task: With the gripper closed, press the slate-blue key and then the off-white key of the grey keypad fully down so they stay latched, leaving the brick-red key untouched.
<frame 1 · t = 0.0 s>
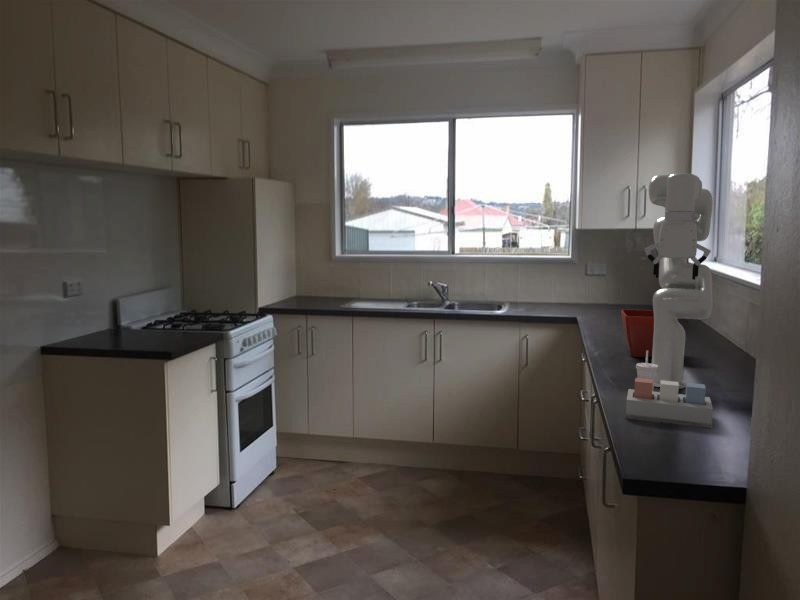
hand: (675, 278, 184), 37 cm above the worktop, tool pointing down, fingers open, 9 cm apart
blue key: (695, 393, 172), point 7 cm above the worktop, slide at 0.0 cm
smoothie: (645, 396, 196), on the worktop
red key: (643, 388, 177), point 7 cm above the worktop, slide at 0.0 cm
white key: (668, 391, 175), point 7 cm above the worktop, slide at 0.0 cm
keypad housing: (667, 416, 175), on the worktop
plant pot: (646, 355, 257), on the worktop
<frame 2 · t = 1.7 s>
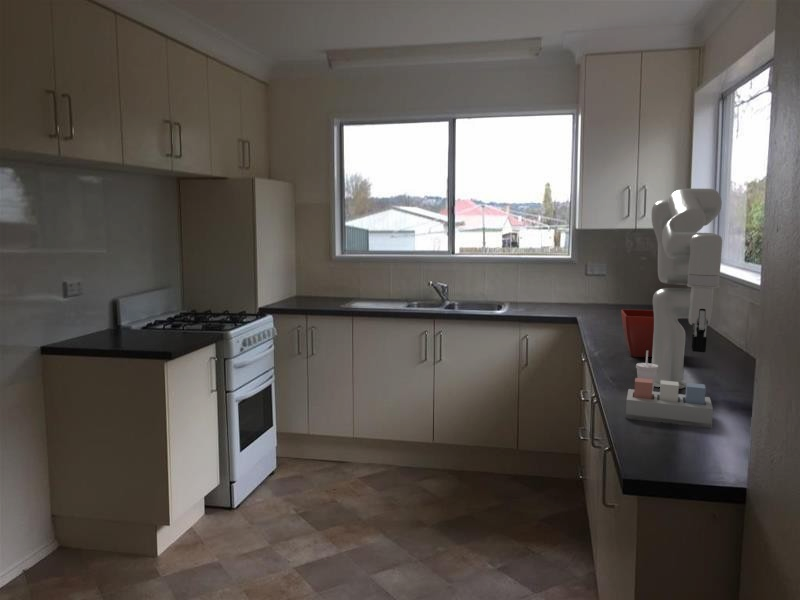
hand: (698, 349, 171), 19 cm above the worktop, tool pointing down, fingers closed
nothing on the worktop moved.
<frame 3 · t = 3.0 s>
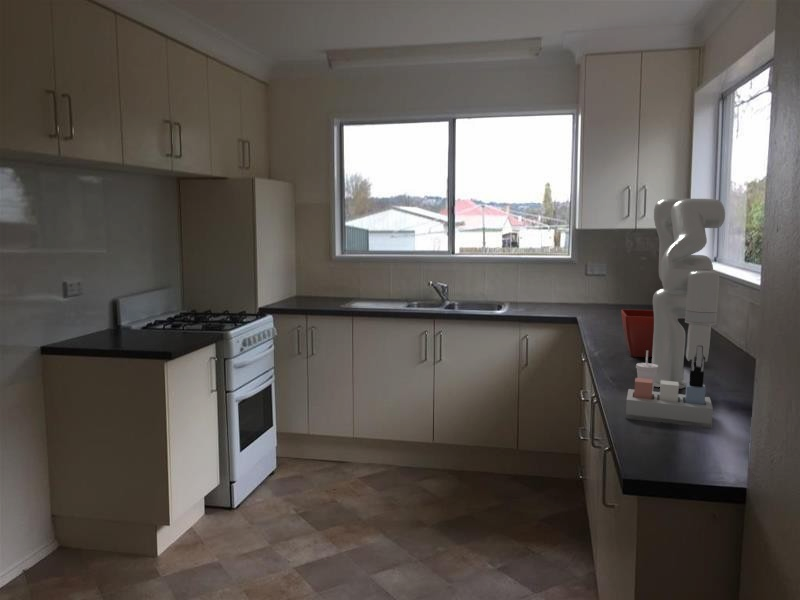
hand: (695, 385, 172), 10 cm above the worktop, tool pointing down, fingers closed
blue key: (695, 393, 172), point 7 cm above the worktop, slide at 0.0 cm, touching gripper
everything else where it was.
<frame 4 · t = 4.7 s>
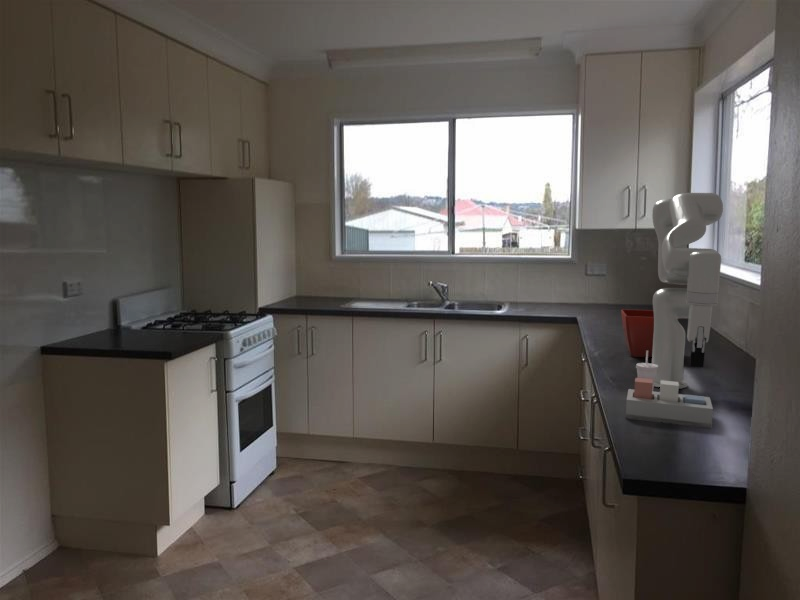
hand: (696, 366, 172), 15 cm above the worktop, tool pointing down, fingers closed
blue key: (694, 405, 173), point 4 cm above the worktop, slide at 3.3 cm
everything else where it was.
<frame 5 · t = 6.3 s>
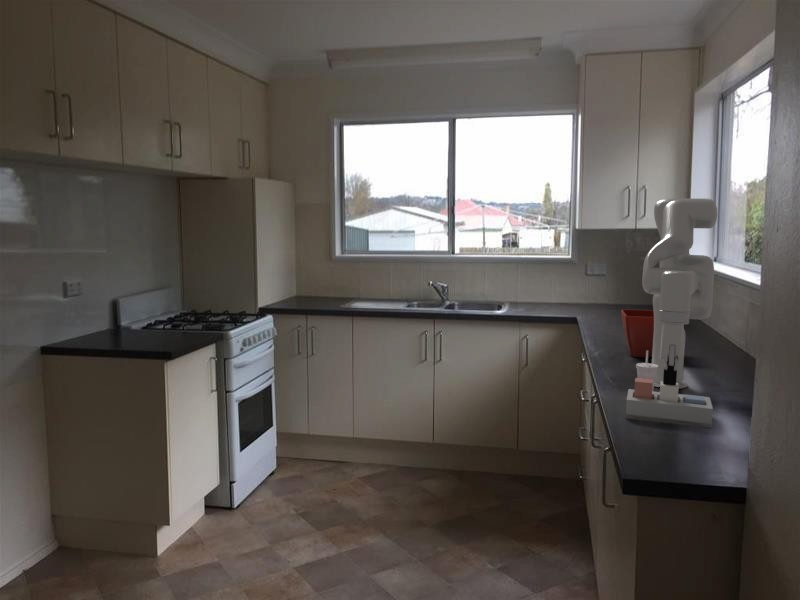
hand: (669, 384, 174), 9 cm above the worktop, tool pointing down, fingers closed
white key: (668, 392, 175), point 7 cm above the worktop, slide at 0.3 cm, touching gripper
everything else where it was.
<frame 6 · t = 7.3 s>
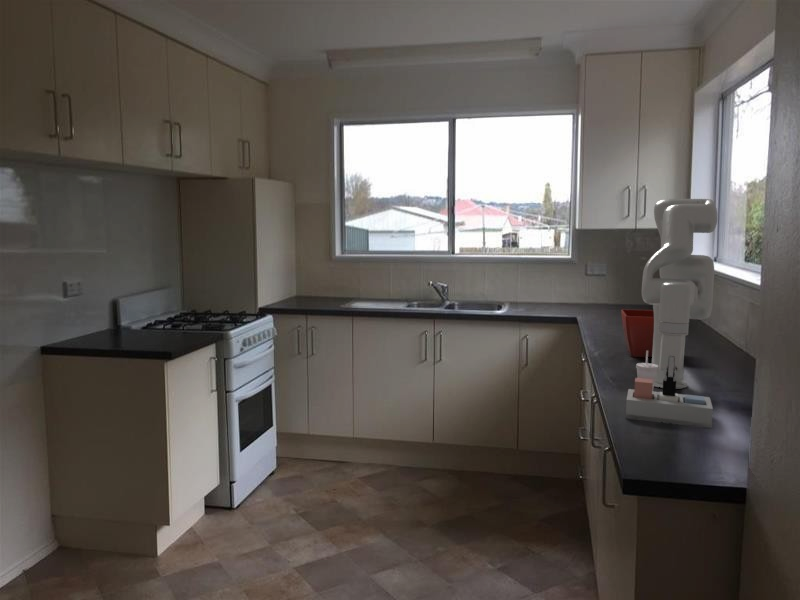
hand: (668, 394, 175), 6 cm above the worktop, tool pointing down, fingers closed
white key: (668, 402, 175), point 4 cm above the worktop, slide at 3.3 cm, touching gripper
everything else where it was.
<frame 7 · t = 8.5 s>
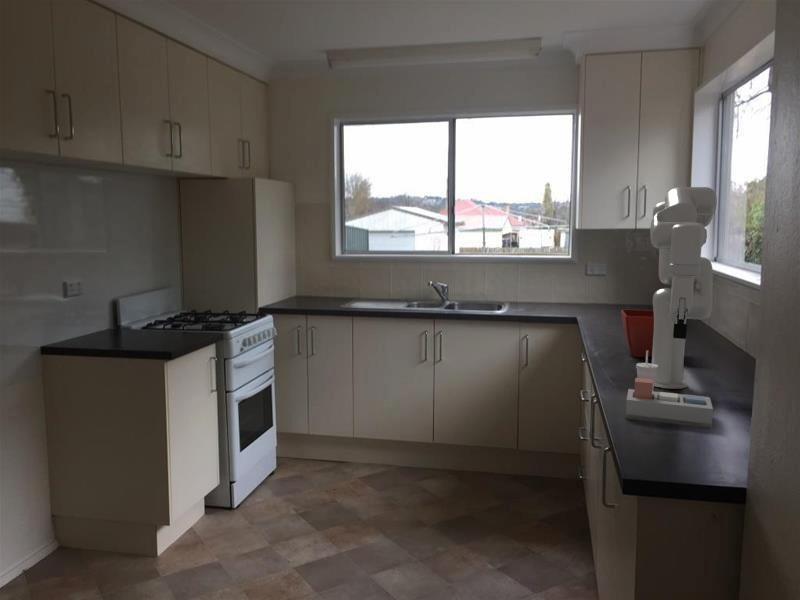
hand: (679, 337, 174), 22 cm above the worktop, tool pointing down, fingers closed
white key: (668, 402, 175), point 4 cm above the worktop, slide at 3.3 cm
everything else where it was.
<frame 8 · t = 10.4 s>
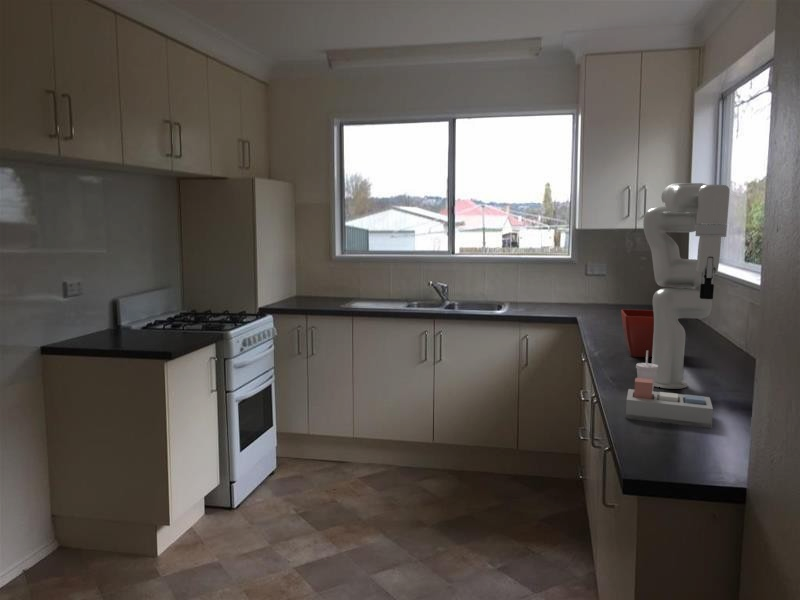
hand: (706, 298, 176), 32 cm above the worktop, tool pointing down, fingers closed
nothing on the worktop moved.
at the end: blue key slide at 3.3 cm; white key slide at 3.3 cm; red key slide at 0.0 cm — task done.
